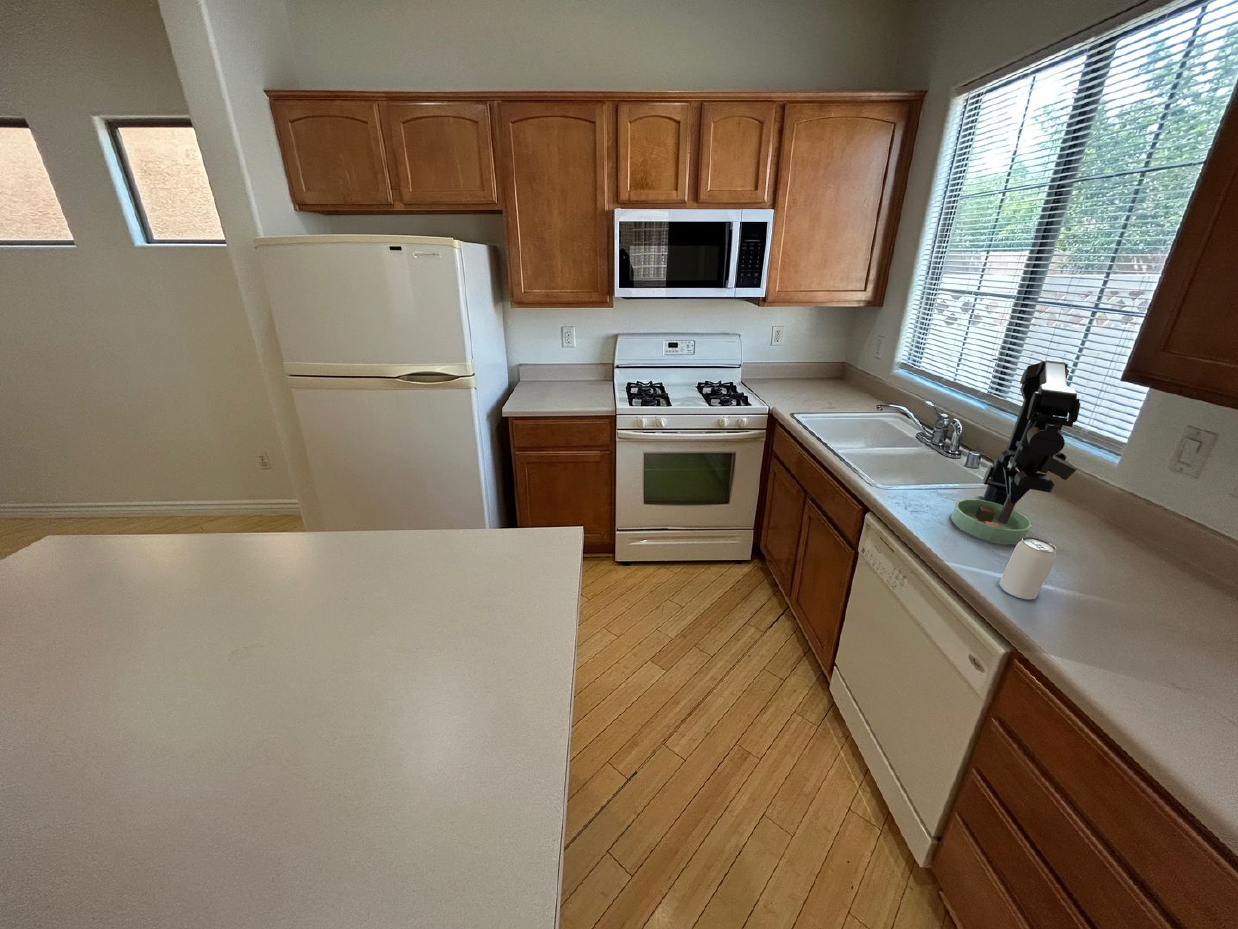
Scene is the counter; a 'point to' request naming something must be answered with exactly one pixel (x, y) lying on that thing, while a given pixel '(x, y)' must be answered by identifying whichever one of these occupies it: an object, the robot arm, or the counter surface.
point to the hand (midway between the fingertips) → (1011, 501)
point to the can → (1028, 568)
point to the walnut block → (985, 514)
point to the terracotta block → (992, 524)
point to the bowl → (1005, 534)
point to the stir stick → (1006, 511)
